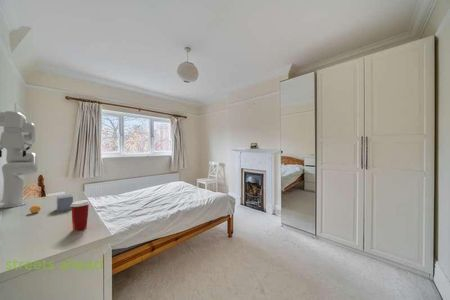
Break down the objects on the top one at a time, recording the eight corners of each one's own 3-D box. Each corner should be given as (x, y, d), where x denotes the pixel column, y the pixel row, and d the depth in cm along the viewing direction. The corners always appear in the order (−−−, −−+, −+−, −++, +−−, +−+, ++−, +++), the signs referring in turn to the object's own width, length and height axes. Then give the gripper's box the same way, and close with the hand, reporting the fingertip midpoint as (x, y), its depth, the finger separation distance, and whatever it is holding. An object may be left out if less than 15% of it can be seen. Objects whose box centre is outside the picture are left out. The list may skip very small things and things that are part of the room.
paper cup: (92, 226, 96) (93, 200, 96) (79, 232, 88) (80, 204, 89) (79, 225, 97) (80, 199, 97) (65, 231, 89) (66, 203, 89)
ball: (29, 212, 116) (29, 205, 116) (40, 211, 119) (40, 203, 119) (29, 214, 112) (29, 206, 112) (40, 212, 116) (40, 205, 116)
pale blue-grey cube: (56, 209, 123) (56, 196, 123) (71, 206, 129) (71, 194, 129) (57, 211, 118) (57, 198, 118) (72, 209, 123) (72, 196, 124)
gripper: (32, 132, 124) (32, 156, 124) (-8, 130, 112) (-9, 157, 111) (32, 131, 119) (31, 156, 119) (-11, 128, 106) (-11, 157, 106)
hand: (12, 157), depth 115 cm, fingers open, 9 cm apart
